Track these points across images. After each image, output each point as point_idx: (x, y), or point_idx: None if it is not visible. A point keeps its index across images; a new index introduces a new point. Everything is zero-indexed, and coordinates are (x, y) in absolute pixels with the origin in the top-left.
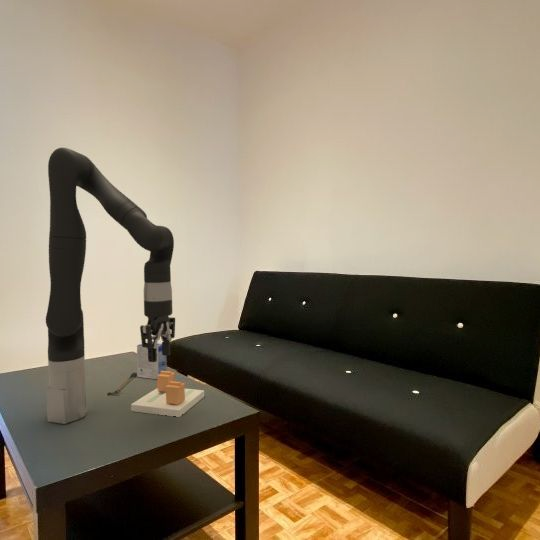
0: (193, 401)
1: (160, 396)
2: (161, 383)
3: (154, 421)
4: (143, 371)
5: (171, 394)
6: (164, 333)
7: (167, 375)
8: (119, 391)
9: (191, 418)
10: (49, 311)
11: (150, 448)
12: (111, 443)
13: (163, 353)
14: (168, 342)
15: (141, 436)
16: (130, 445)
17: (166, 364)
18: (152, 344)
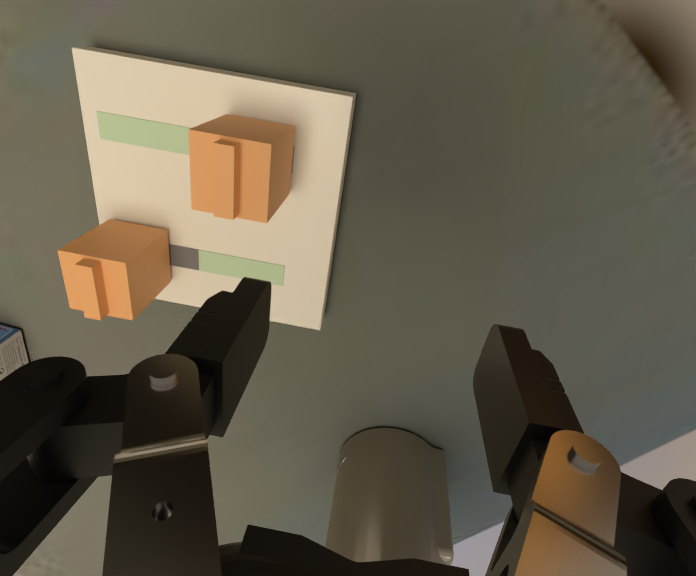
0: (204, 69)
1: (216, 249)
2: (150, 280)
3: (406, 193)
4: None
5: (280, 176)
6: (273, 537)
7: (110, 273)
8: None
9: (361, 19)
10: None
11: (667, 107)
12: (593, 276)
13: (264, 336)
14: (207, 368)
15: (546, 191)
16: (622, 202)
17: None
18: (673, 511)
